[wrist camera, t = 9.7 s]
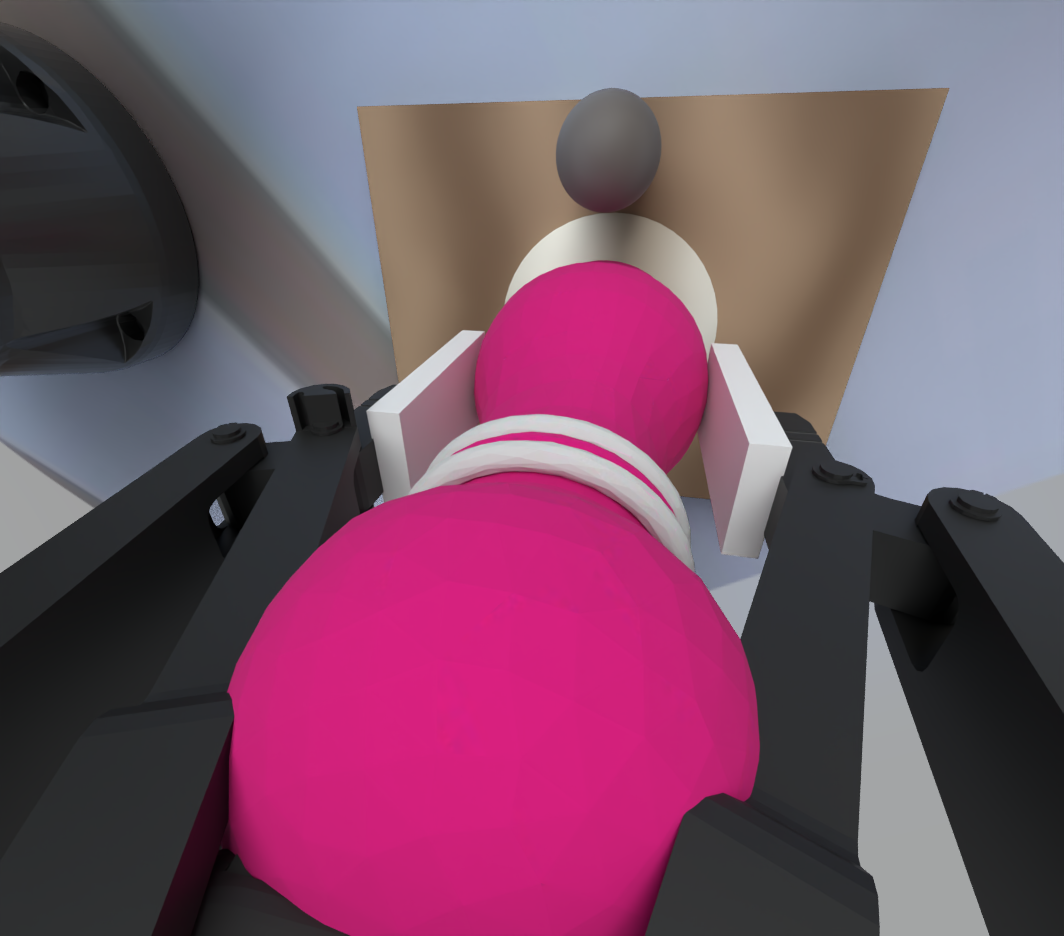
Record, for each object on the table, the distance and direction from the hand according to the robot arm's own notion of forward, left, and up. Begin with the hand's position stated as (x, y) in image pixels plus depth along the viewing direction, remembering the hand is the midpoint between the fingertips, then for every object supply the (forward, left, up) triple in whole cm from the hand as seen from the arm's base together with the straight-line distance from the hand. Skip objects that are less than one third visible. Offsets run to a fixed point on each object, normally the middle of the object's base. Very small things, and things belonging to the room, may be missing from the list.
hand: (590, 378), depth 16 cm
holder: (0, 0, -8) cm, 8 cm away
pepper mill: (0, 0, -4) cm, 4 cm away
